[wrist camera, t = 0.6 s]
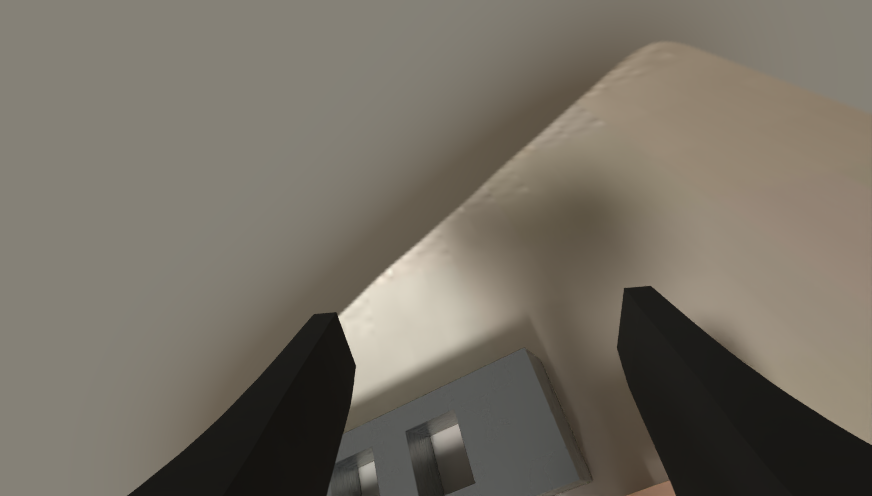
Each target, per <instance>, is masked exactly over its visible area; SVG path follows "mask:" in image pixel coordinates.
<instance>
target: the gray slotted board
mask: <svg viewBox="0 0 872 496" xmlns="http://www.w3.org/2000/svg"><path fill="white" fill-rule="evenodd" d="M456 424H459V428H460V431H461V435H462V438H463V442H464V445H465V449H466V452H467V456H468V459H469V463H470V466H471V470H472V473H473V477H474V480H475V484H472V485H470V486H467V487H465V488H462V489H460V490H457V491H455V492H452V493H450V494H447V495H445V496H554V495H557V494H559V493H562V492H565V491H567V490H570V489H573V488H576V487H578V486H581V485H584V484H586V483H589V482H592V481H593V479H592V477H591V475H590V472H589V470H588V468H587V465H586V463H585V461H584V459H583V456H582V454H581V452H580V449H579V447H578V445H577V443H576V440H575V438H574V436H573V433H572V431H571V429H570V427H569V424H568V422H567V420H566V417H565V415H564V413H563V410H562V408H561V406H560V404H559V401H558V399H557V397H556V394H555V392H554V390H553V388H552V385H551V383H550V381H549V378H548V376H547V374H546V372H545V369H544V367H543V365H542V362H541V360H540V359H539V358H538V357H536V356H535V355H534V354H532V353H531V352H530V351H528V350H527V349H526V348H525V347H524V348H522V349H520V350H518V351H516V352H514V353H512V354H510V355H507V356H505V357H503V358H501V359H499V360H497V361H495V362H493V363H491V364H489V365H487V366H484V367H482V368H480V369H478V370H476V371H474V372H472V373H470V374H468V375H466V376H464V377H461V378H459V379H457V380H455V381H453V382H451V383H449V384H447V385H445V386H443V387H440V388H438V389H436V390H434V391H432V392H430V393H428V394H426V395H424V396H422V397H420V398H417V399H415V400H413V401H411V402H409V403H407V404H405V405H403V406H401V407H399V408H397V409H394V410H392V411H390V412H388V413H386V414H384V415H382V416H380V417H378V418H376V419H373V420H371V421H369V422H367V423H365V424H363V425H361V426H359V427H357V428H355V429H353V430H350V431H348V432H346V433H344V434H343V436H342V440H341V443H340V447H339V451H338V454H337V458H336V462H335V466H334V469H333V473H332V477H331V481H330V484H329V488H328V493H327V496H361V489H360V482H359V475H358V468H360V467H362V466H364V465H366V464H368V463H371V462H373V461H374V462H375V468H376V474H377V480H378V486H379V492H380V496H444V493H443V489H442V485H441V481H440V477H439V472H438V468H437V464H436V460H435V456H434V452H433V448H432V444H431V440H430V436H431V435H433V434H436V433H438V432H440V431H442V430H445V429H447V428H449V427H451V426H454V425H456Z"/></svg>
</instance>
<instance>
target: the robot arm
mask: <svg viewBox="0 0 872 496" xmlns="http://www.w3.org/2000/svg"><path fill="white" fill-rule="evenodd" d="M617 349H618V353H619V356H620V360H621V363H622V367H623V370H624V373H625V376H626V380H627V383H628V386H629V389H630V391H631V393H632V396H633V398H634V400H635V402H636V405H637V407H638V409H639V412H640V414H641V416H642V418H643V421H644V423H645V425H646V427H647V430H648V432H649V434H650V436H651V439H652V441H653V443H654V445H655V448H656V450H657V452H658V454H659V457H660V459H661V461H662V463H663V466H664V468H665V470H666V472H667V475H668V477H669V480H670V482H671V485H672V487H673V490H674V492H675V495H676V496H872V445H870V444H869V443H867V442H865V441H863V440H862V439H860V438H858V437H856V436H854V435H853V434H851V433H849V432H848V431H846V430H844V429H843V428H841V427H839V426H838V425H836V424H834V423H833V422H831V421H829V420H828V419H826V418H825V417H823V416H822V415H820V414H819V413H817V412H815V411H814V410H812V409H811V408H809V407H808V406H806V405H804V404H803V403H801V402H800V401H798V400H797V399H795V398H793V397H792V396H790V395H789V394H787V393H786V392H785V391H783V390H782V389H780V388H779V387H777V386H776V385H774V384H773V383H771V382H770V381H769V380H767V379H766V378H764V377H763V376H762V375H760V374H759V373H758V372H756V371H755V370H753V369H752V368H751V367H749V366H748V365H746V364H745V363H744V362H742V361H741V360H740V359H738V358H737V357H736V356H735V355H733V354H732V353H731V352H729V351H728V350H727V349H726V348H724V347H723V346H722V345H721V344H719V343H718V342H717V341H716V340H714V339H713V338H712V337H711V336H709V335H708V334H707V333H706V332H704V331H703V330H702V329H701V328H700V327H698V326H697V325H696V324H695V323H694V322H692V321H691V320H690V319H689V318H688V317H687V316H685V315H684V314H683V313H682V312H681V311H679V310H678V309H677V308H676V307H675V306H674V305H672V304H671V303H670V302H669V301H668V300H667V299H665V298H664V297H663V296H662V295H661V294H660V293H658V292H657V291H656V290H655V289H654V288H652V287H651V286H644V287H632V288H624V293H623V302H622V310H621V319H620V327H619V336H618V344H617ZM355 369H356V365H355V362H354V359H353V357H352V354H351V351H350V348H349V346H348V343H347V340H346V337H345V335H344V332H343V329H342V326H341V324H340V321H339V318H338V315H337V313H336V312H334V313H323V314H314V315H313V316H312V317H311V318H310V319H309V320H308V322H307V323H306V324H305V325H304V326H303V327H302V329H301V330H300V331H299V332H298V333H297V334H296V336H295V337H294V338H293V339H292V340H291V341H290V343H289V344H288V345H287V346H286V347H285V348H284V349H283V351H282V352H281V353H280V354H279V355H278V357H276V359H275V360H274V361H273V362H272V363H271V364H270V365H269V367H268V368H267V369H266V370H265V371H264V372H263V373H262V374H261V376H260V377H259V378H258V379H257V380H256V381H255V382H254V383H253V384H252V385H251V386H250V387H249V388H248V389H247V390H246V391H245V392H244V393H243V395H241V397H240V398H239V399H238V400H237V401H236V402H235V403H234V404H233V405H232V406H231V407H230V408H229V409H228V410H227V411H226V412H225V413H224V414H223V415H222V416H221V417H220V418H219V419H218V420H217V421H216V422H215V423H214V424H212V425H211V426H210V427H209V428H208V429H207V430H206V431H205V432H204V433H203V434H202V435H200V436H199V437H198V438H197V439H196V440H195V441H194V442H193V443H192V444H190V445H189V446H188V447H187V448H186V449H185V450H184V451H182V452H181V453H180V454H179V455H178V456H176V457H175V458H174V459H173V460H172V461H170V462H169V463H168V464H167V465H165V466H164V467H163V468H162V469H160V470H159V471H158V472H157V473H155V475H153V476H152V477H150V478H149V479H148V480H147V481H146V482H144V483H143V484H142V485H141V486H139V487H138V488H137V489H135V490H134V491H133V492H132V493H130V494H129V495H128V496H327V493H328V488H329V484H330V481H331V477H332V473H333V469H334V466H335V462H336V458H337V454H338V451H339V447H340V443H341V440H342V436H343V432H344V428H345V424H346V420H347V417H348V413H349V409H350V405H351V399H352V393H353V386H354V377H355Z"/></svg>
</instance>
